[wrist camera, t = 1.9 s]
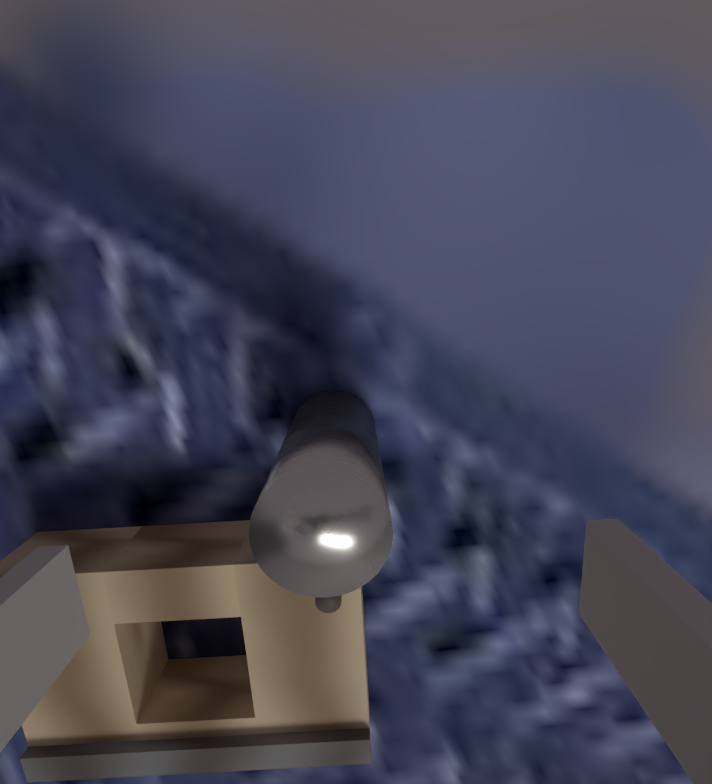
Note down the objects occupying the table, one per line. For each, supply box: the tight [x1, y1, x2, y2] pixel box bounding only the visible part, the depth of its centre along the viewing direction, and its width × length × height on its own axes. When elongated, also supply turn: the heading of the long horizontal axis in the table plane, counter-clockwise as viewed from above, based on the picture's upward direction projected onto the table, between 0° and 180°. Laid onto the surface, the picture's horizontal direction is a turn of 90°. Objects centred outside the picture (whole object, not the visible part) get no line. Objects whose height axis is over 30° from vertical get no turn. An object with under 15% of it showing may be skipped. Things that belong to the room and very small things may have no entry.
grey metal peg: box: [249, 390, 393, 598], centre depth 18 cm, size 4×4×10 cm
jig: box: [0, 520, 371, 782], centre depth 23 cm, size 18×12×5 cm, turn 93°
